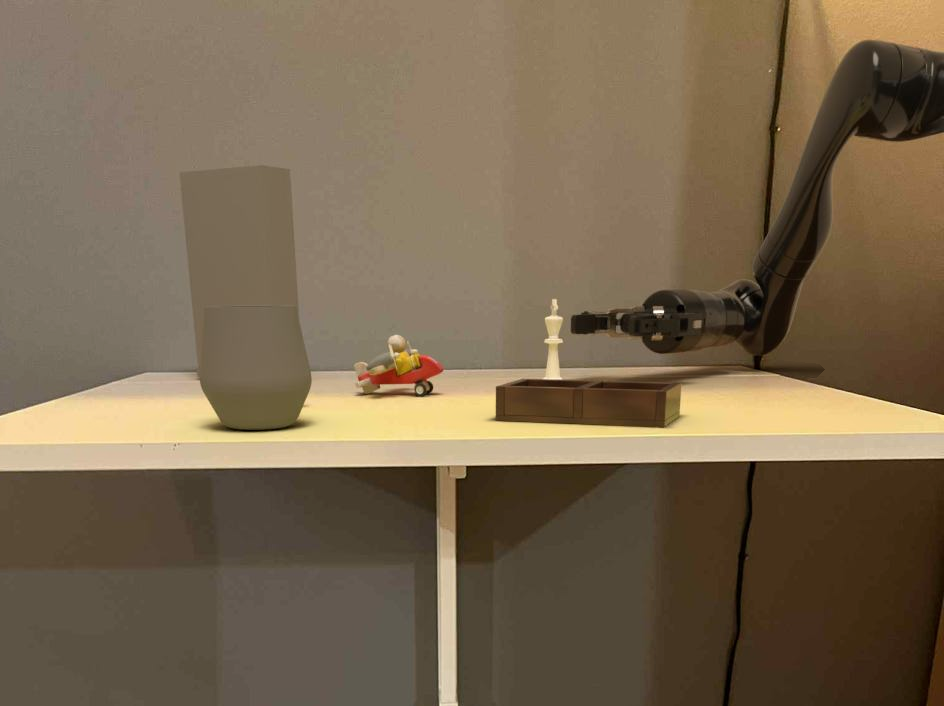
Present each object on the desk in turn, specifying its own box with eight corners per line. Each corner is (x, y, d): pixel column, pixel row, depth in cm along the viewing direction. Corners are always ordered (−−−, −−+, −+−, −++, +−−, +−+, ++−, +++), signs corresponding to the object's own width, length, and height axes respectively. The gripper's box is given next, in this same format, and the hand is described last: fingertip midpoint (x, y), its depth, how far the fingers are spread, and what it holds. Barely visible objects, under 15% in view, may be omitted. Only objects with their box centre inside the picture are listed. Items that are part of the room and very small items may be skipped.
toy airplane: (448, 395, 109) (447, 334, 107) (374, 400, 105) (371, 337, 103) (410, 388, 116) (408, 331, 114) (339, 393, 112) (336, 334, 110)
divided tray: (679, 415, 91) (681, 382, 90) (664, 427, 84) (666, 391, 82) (522, 410, 96) (522, 378, 95) (495, 420, 89) (495, 386, 88)
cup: (328, 420, 89) (322, 304, 86) (291, 435, 81) (282, 307, 77) (231, 418, 91) (222, 305, 88) (185, 432, 83) (172, 307, 79)
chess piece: (535, 396, 107) (537, 299, 104) (526, 392, 112) (527, 299, 108) (579, 395, 108) (582, 299, 104) (568, 391, 112) (570, 298, 109)
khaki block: (308, 379, 129) (295, 169, 120) (276, 383, 124) (261, 165, 116) (230, 375, 136) (213, 176, 127) (197, 379, 131) (177, 172, 122)
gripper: (637, 289, 127) (555, 290, 116) (735, 289, 117) (654, 290, 107) (634, 349, 130) (553, 356, 119) (729, 354, 120) (650, 362, 109)
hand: (601, 325), depth 113 cm, fingers open, 8 cm apart
